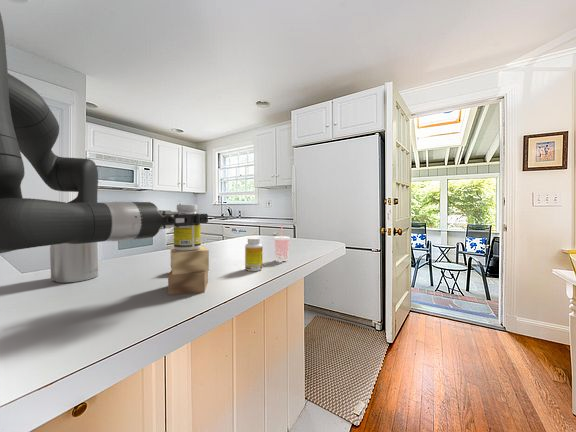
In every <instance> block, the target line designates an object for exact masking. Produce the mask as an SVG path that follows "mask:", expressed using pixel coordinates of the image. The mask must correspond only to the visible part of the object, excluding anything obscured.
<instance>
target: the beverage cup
mask: <svg viewBox="0 0 576 432" xmlns="http://www.w3.org/2000/svg"><path fill="white" fill-rule="evenodd" d="M280 225H281V227H280V228H281V229H280V232H281V233H280V235H277V236H273V240H274V255H275V257H274V258H275V261H276V260H277V261H286V260H288V261H289V251H290V249H289V248H290V239H291V237H290V236H289V235H288V236H287V235H286V236H285V235H283V232H284V231H283V229H284V228H283V225H284V224H283V223H280ZM277 261H276V262H277Z"/></svg>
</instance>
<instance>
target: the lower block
mask: <svg viewBox="0 0 576 432" xmlns="http://www.w3.org/2000/svg"><path fill="white" fill-rule="evenodd" d="M208 284H209V271H201V272H192V273H183V274H174V275H173V274H172V270H171V269H170V271H169V273H167V286H168V288H167V289H168V290H167V291H168V292H167V293H168V295H169V296H171V295H182V294H198V293H205V292H206V289H207V287H208Z"/></svg>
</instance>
